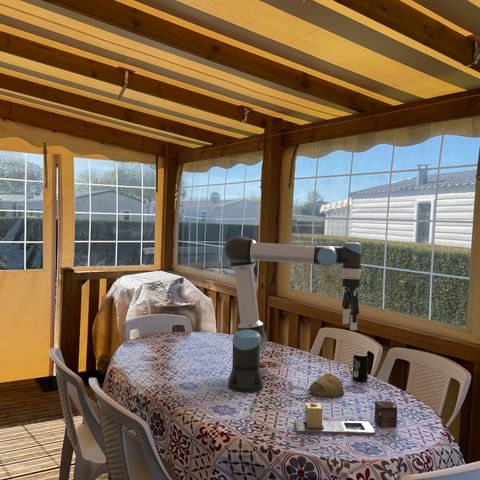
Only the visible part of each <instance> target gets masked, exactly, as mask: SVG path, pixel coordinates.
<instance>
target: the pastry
mask: <svg viewBox="0 0 480 480" xmlns="http://www.w3.org/2000/svg"><path fill="white" fill-rule="evenodd" d="M308 390H309V392H310V394H312V395H315V396H318V397H323V398H333V397H334V398H339V397H341V396H344V395H345V391H344V386H343V383H342V381H341V380H340V378H339V377H337V376H335V375H334V374H333V373H329V372H328V373H325V374H323V375H321V376H319V377H318V378H317V379H316V380H314V381H313V382H312V383H311V384H310V386H309V388H308Z"/></svg>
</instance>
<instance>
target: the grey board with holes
mask: <svg viewBox="0 0 480 480" xmlns="http://www.w3.org/2000/svg"><path fill="white" fill-rule="evenodd" d="M304 424H305V419H304V420H303V419H299V420H297V419H295V420H294V426H296V427H295V431H296V430H297V431H296V434H297V433H322V434H321V435H338V434H345V435H346V436H351V435H353V436H376V431H375V429H374V427H373V426H372V425H371V423H370V422H369V421H347V420H345V421H344V420H343V421H342V420H322V430H318V429H306V427H305V425H304ZM345 425H351V426H350V427H361V428H362V429H347V427H346V426H345ZM345 435H344V436H345Z"/></svg>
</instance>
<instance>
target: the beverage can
mask: <svg viewBox="0 0 480 480" xmlns="http://www.w3.org/2000/svg"><path fill="white" fill-rule="evenodd" d="M368 376H369V357H368V353H366V352H359V351H358V352H354V355H353V357H352V379H353V380H354V381H355V382H357V381H358V383H365V382H367V381H368V378H369V377H368Z"/></svg>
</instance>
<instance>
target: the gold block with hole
mask: <svg viewBox="0 0 480 480" xmlns="http://www.w3.org/2000/svg"><path fill="white" fill-rule="evenodd" d="M304 415H305V417H304V420H305V425H304V427H305V426H306V427H305V429H318V430H323V428H322V421H323V407H322V404H321V402H305V414H304Z"/></svg>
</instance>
